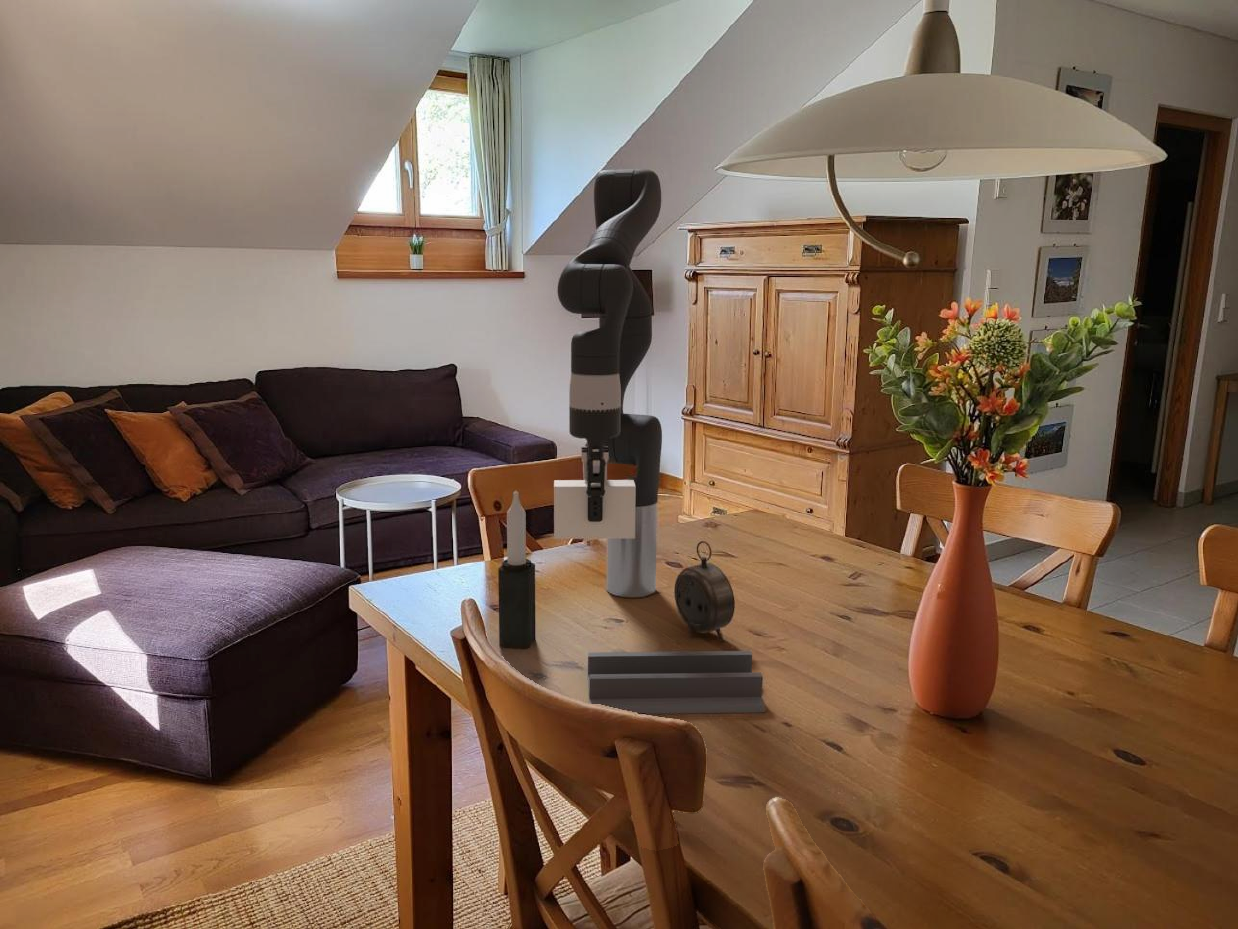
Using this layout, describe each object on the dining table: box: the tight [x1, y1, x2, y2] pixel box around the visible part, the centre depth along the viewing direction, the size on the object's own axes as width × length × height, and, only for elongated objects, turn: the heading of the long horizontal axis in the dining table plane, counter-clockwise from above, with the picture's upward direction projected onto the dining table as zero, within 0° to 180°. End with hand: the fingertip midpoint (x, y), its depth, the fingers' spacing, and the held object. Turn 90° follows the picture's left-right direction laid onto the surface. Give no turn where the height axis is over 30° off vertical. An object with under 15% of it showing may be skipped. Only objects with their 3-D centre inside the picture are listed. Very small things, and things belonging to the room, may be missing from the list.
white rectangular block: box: [553, 479, 636, 540], centre depth 138 cm, size 4×12×8 cm, turn 93°
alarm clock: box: [673, 540, 736, 643], centre depth 150 cm, size 11×5×16 cm, turn 35°
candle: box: [497, 490, 536, 650], centre depth 146 cm, size 5×5×25 cm
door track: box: [587, 650, 767, 715], centre depth 132 cm, size 14×24×4 cm, turn 93°
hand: (594, 516), depth 138 cm, fingers closed on white rectangular block, 4 cm apart
